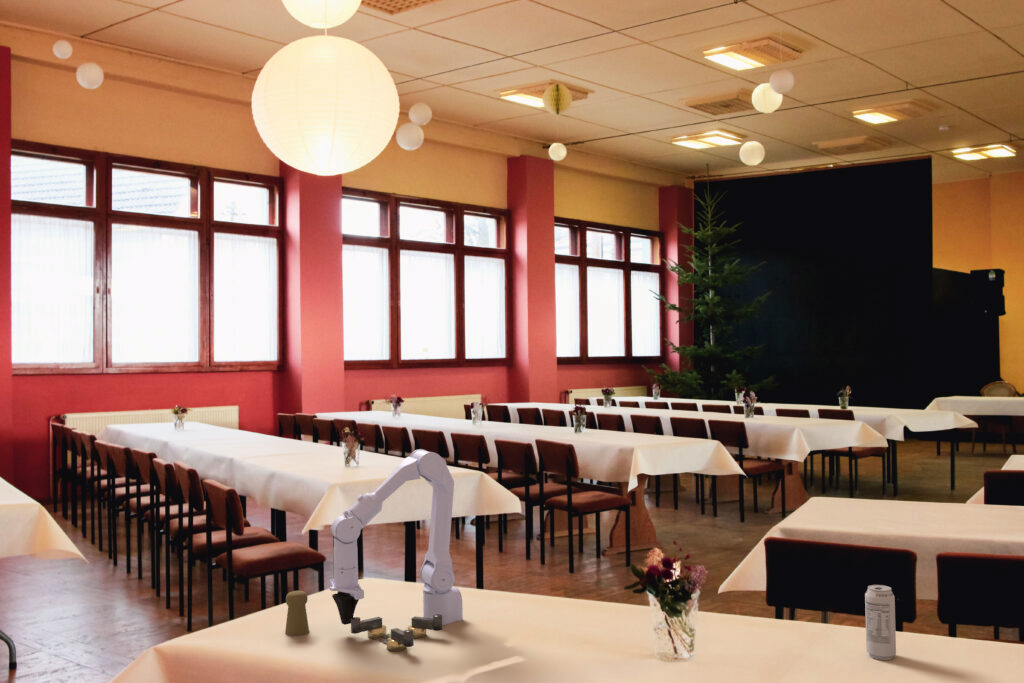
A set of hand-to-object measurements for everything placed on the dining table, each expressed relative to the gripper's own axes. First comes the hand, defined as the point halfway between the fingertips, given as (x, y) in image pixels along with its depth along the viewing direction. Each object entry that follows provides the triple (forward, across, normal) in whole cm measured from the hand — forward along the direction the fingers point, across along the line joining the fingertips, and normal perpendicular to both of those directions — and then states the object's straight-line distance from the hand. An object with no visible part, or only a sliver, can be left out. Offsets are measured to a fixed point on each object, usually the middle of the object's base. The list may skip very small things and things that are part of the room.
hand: (346, 623), depth 217 cm
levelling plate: (+4, +11, +6) cm, 14 cm away
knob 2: (+3, +19, +4) cm, 20 cm away
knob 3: (+3, +14, +14) cm, 20 cm away
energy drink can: (+4, +88, +85) cm, 122 cm away
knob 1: (+3, +6, +3) cm, 7 cm away
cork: (+4, -10, -8) cm, 14 cm away
